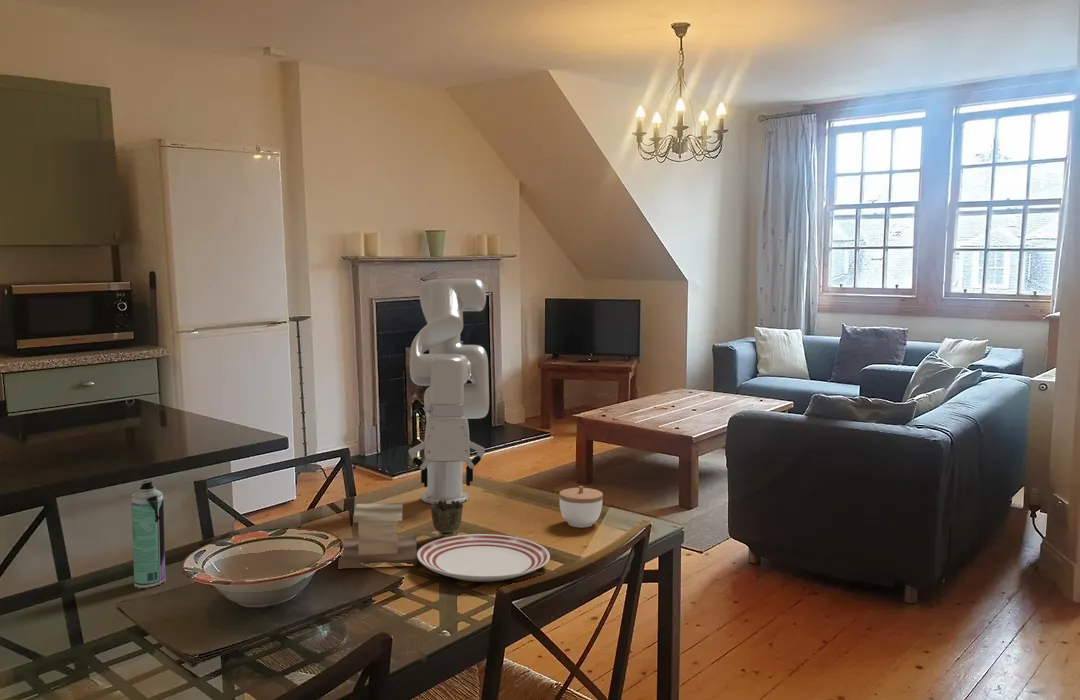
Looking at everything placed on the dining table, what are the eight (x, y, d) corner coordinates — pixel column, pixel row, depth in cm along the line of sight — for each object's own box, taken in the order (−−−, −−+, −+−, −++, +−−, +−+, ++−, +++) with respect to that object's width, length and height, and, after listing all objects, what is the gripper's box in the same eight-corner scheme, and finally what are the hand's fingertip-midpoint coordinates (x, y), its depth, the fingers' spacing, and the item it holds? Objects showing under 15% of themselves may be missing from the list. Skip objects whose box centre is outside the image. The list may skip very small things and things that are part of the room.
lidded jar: (611, 523, 197) (611, 486, 197) (584, 533, 189) (585, 494, 188) (576, 515, 204) (577, 479, 203) (549, 524, 196) (550, 486, 195)
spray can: (171, 580, 156) (169, 479, 155) (149, 590, 151) (147, 486, 150) (149, 576, 158) (147, 477, 156) (127, 586, 153) (124, 483, 151)
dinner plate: (490, 537, 185) (490, 523, 185) (577, 568, 166) (577, 553, 166) (390, 565, 166) (390, 550, 166) (475, 604, 147) (475, 586, 147)
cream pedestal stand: (343, 544, 179) (343, 500, 178) (416, 541, 181) (416, 498, 181) (337, 569, 163) (337, 521, 162) (416, 566, 166) (416, 518, 165)
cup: (465, 533, 188) (465, 500, 187) (459, 543, 180) (459, 508, 180) (434, 532, 189) (434, 499, 188) (427, 542, 181) (427, 507, 181)
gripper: (408, 413, 177) (408, 490, 178) (486, 412, 180) (486, 488, 181) (408, 409, 184) (408, 483, 185) (483, 408, 187) (483, 481, 188)
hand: (447, 485), depth 183 cm, fingers open, 9 cm apart
